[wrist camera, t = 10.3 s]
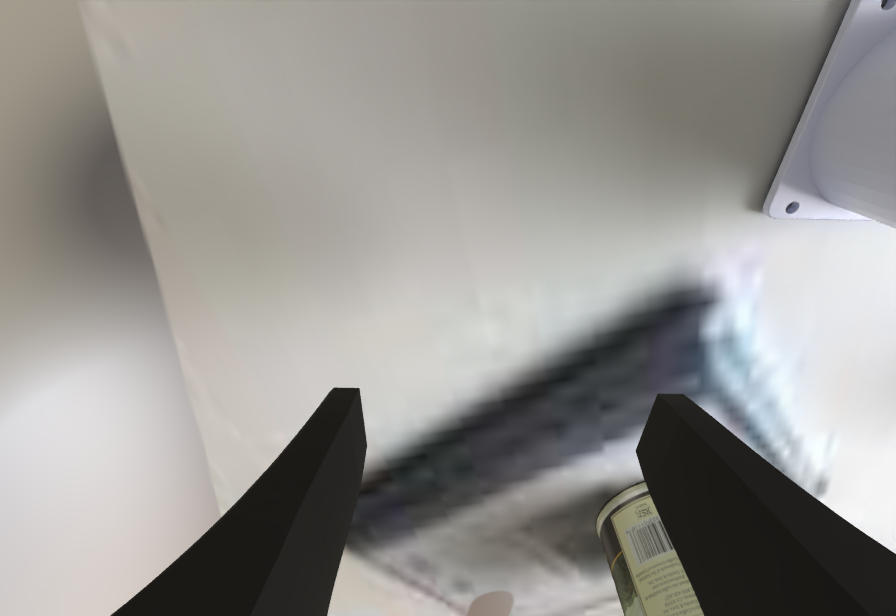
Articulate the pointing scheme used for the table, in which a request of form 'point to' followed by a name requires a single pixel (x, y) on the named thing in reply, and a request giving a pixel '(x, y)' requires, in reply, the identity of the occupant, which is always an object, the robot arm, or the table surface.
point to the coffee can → (644, 558)
